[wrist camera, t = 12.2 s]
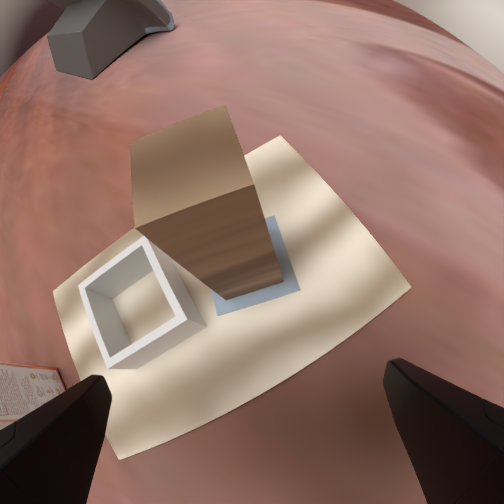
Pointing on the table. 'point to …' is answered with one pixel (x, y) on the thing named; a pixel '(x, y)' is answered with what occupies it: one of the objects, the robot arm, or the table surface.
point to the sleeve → (107, 318)
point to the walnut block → (203, 204)
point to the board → (239, 311)
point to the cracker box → (25, 389)
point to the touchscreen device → (102, 32)
